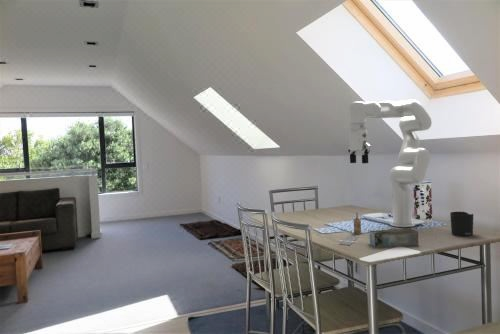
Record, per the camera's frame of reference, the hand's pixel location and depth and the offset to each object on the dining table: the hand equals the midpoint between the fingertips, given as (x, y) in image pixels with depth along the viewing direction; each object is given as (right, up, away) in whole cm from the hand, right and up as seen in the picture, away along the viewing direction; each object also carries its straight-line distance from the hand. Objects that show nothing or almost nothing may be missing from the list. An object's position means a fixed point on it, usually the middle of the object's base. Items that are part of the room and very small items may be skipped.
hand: (359, 163), depth 185 cm
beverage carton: (+10, -36, -18) cm, 42 cm away
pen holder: (+46, -34, -7) cm, 58 cm away
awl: (+1, -35, +5) cm, 35 cm away
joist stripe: (-7, -36, -9) cm, 38 cm away
